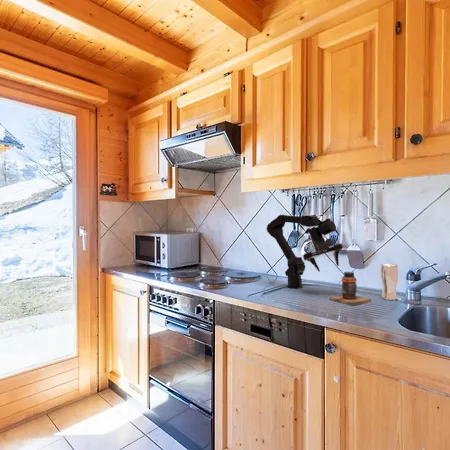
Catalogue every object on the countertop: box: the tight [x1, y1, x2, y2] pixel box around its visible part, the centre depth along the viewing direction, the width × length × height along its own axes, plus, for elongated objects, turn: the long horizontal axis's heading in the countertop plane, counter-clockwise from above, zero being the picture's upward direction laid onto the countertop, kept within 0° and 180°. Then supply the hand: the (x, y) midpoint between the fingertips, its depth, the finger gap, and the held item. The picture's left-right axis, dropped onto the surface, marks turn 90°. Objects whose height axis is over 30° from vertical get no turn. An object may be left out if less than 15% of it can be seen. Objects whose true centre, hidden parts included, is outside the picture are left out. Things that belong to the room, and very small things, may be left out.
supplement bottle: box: [341, 271, 358, 299], centre depth 134 cm, size 6×6×11 cm
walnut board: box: [329, 294, 372, 307], centre depth 134 cm, size 12×12×1 cm
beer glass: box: [379, 263, 399, 301], centre depth 137 cm, size 7×7×15 cm
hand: (328, 268), depth 148 cm, fingers open, 9 cm apart
